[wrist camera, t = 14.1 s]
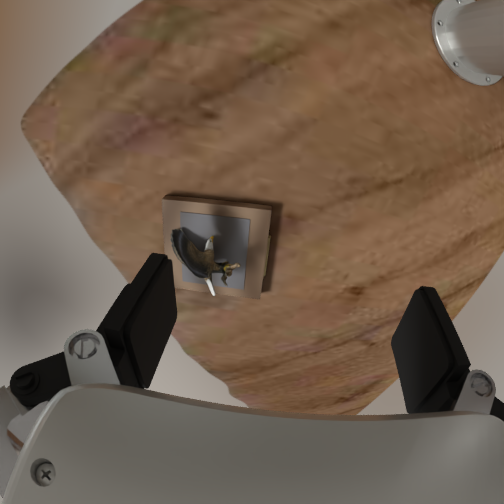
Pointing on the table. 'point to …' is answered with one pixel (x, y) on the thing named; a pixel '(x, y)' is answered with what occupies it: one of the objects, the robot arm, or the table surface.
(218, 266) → the eagle figurine
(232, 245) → the wooden picture frame
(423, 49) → the table surface
